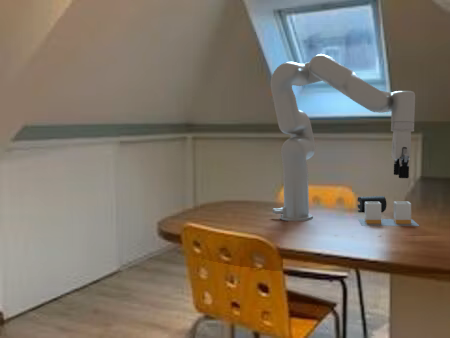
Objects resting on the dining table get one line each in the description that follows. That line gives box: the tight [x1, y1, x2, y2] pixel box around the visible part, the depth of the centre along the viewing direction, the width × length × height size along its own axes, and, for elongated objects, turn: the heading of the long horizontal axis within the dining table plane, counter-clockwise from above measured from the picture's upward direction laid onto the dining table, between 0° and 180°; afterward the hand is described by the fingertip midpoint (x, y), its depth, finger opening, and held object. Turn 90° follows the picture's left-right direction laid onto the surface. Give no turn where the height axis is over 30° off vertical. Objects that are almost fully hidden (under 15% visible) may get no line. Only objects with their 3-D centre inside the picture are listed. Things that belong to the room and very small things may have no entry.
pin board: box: [357, 218, 420, 227], centre depth 179 cm, size 19×12×6 cm, turn 81°
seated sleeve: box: [364, 202, 382, 224], centre depth 180 cm, size 5×5×7 cm
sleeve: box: [393, 200, 412, 224], centre depth 178 cm, size 5×5×7 cm
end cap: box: [356, 195, 388, 213], centre depth 207 cm, size 10×7×7 cm
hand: (400, 176), depth 177 cm, fingers open, 9 cm apart
